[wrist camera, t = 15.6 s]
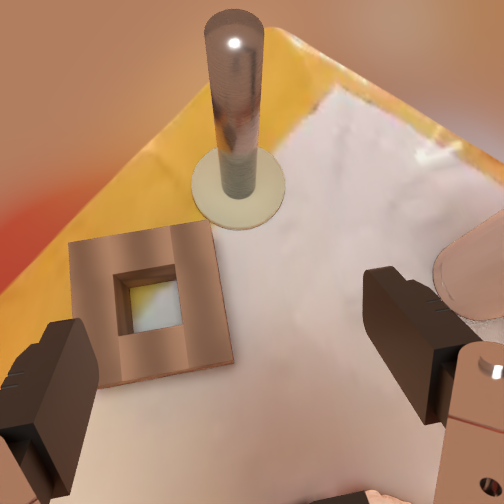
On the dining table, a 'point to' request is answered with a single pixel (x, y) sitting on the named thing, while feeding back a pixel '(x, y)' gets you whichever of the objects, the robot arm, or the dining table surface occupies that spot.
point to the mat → (234, 210)
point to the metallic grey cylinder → (236, 95)
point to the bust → (382, 498)
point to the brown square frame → (145, 273)
